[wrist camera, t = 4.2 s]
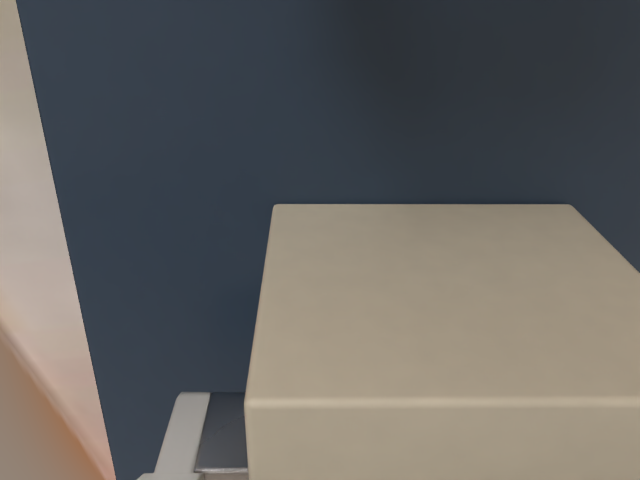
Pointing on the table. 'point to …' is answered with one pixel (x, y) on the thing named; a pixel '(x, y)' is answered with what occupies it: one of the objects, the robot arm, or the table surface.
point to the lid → (301, 152)
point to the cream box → (443, 346)
